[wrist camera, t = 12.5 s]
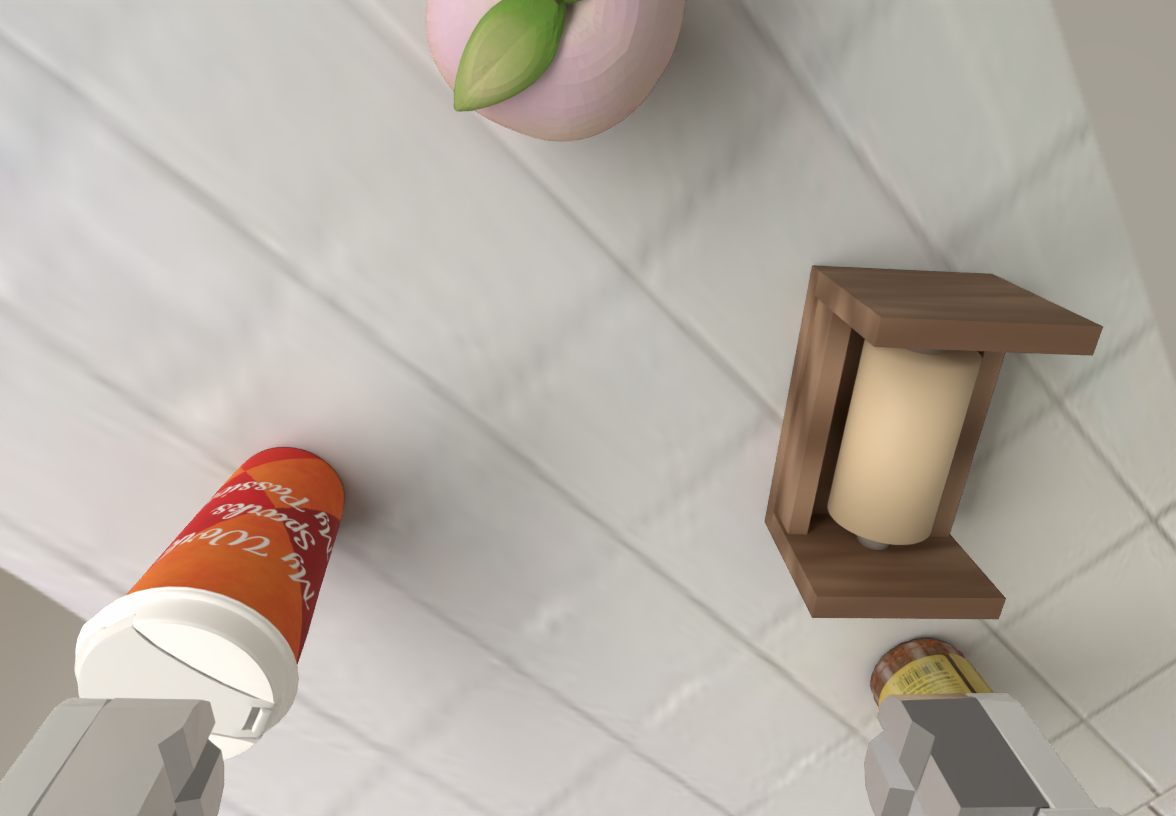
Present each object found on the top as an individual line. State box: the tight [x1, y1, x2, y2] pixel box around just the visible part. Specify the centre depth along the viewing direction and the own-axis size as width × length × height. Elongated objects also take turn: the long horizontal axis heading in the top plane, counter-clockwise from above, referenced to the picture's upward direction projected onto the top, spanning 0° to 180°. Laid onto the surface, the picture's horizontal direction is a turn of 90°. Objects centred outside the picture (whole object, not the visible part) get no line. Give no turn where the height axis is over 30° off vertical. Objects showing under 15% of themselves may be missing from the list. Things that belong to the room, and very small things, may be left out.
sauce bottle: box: [870, 638, 993, 709], centre depth 39 cm, size 6×6×20 cm
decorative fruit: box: [426, 0, 685, 141], centre depth 27 cm, size 9×8×10 cm
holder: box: [765, 266, 1103, 619], centre depth 36 cm, size 14×9×8 cm, turn 176°
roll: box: [827, 339, 982, 545], centre depth 37 cm, size 9×5×5 cm, turn 176°
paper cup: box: [75, 447, 344, 760], centre depth 33 cm, size 8×8×14 cm
